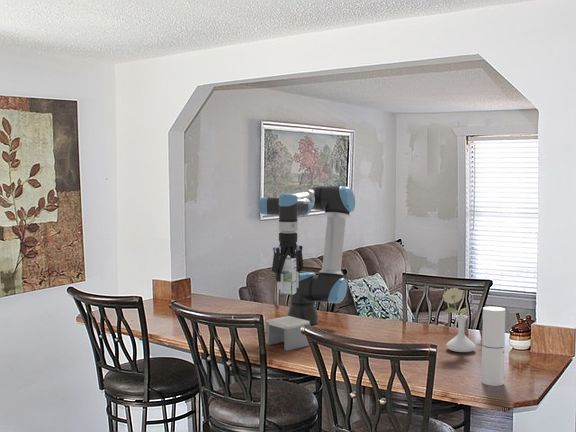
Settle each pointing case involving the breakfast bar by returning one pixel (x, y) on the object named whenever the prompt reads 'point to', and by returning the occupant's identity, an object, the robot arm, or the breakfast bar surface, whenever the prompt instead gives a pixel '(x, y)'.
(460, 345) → the flower in vase
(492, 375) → the cylindrical container
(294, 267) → the syrup box
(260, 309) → the breakfast bar surface
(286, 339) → the low shelf
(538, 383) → the breakfast bar surface
